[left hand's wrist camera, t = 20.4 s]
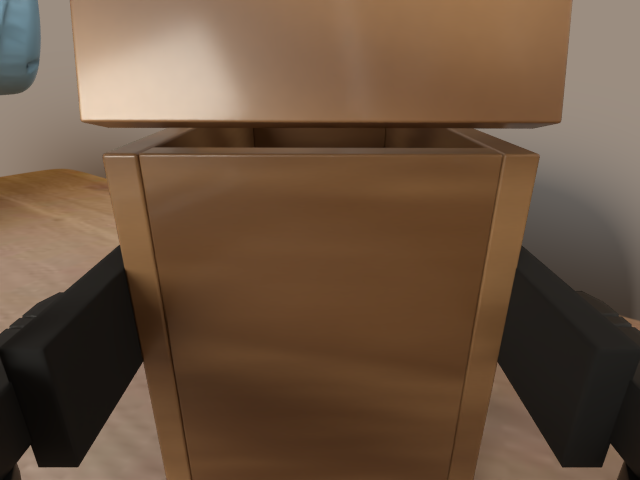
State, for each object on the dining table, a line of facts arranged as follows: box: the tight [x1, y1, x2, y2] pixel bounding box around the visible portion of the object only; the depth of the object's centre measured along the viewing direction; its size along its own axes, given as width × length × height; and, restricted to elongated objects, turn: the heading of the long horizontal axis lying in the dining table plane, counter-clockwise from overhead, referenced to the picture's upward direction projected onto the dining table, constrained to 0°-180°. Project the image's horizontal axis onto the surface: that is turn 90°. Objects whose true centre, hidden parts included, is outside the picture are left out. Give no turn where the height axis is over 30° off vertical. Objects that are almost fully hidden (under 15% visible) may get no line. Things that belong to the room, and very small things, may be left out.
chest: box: [103, 128, 540, 480], centre depth 18 cm, size 17×9×11 cm, turn 0°
